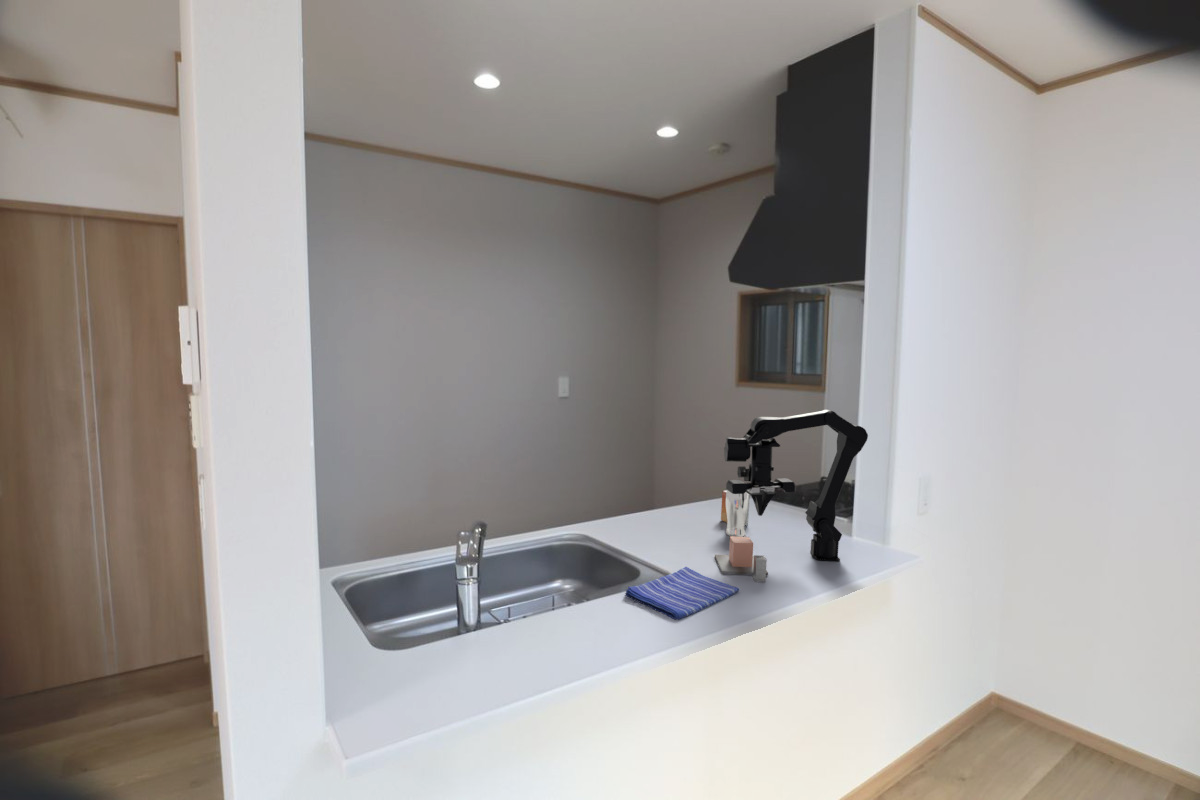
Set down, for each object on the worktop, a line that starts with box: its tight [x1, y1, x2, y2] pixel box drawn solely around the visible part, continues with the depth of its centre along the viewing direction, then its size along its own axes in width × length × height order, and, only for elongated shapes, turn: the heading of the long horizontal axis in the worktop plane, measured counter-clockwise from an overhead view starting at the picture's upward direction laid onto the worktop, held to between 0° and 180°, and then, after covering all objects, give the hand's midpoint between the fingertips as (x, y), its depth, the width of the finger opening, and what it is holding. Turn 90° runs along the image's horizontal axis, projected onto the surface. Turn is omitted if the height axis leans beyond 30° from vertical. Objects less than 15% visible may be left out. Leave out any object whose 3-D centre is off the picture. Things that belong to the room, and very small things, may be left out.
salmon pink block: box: [728, 536, 754, 567], centre depth 160 cm, size 5×5×7 cm
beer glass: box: [725, 489, 749, 537], centre depth 186 cm, size 7×7×15 cm
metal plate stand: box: [714, 554, 769, 576], centre depth 160 cm, size 12×12×6 cm
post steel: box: [752, 554, 768, 583], centre depth 151 cm, size 3×3×6 cm
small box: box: [720, 489, 751, 527], centre depth 198 cm, size 8×6×10 cm
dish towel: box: [624, 566, 740, 621], centre depth 142 cm, size 17×24×3 cm
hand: (759, 515), depth 168 cm, fingers closed
